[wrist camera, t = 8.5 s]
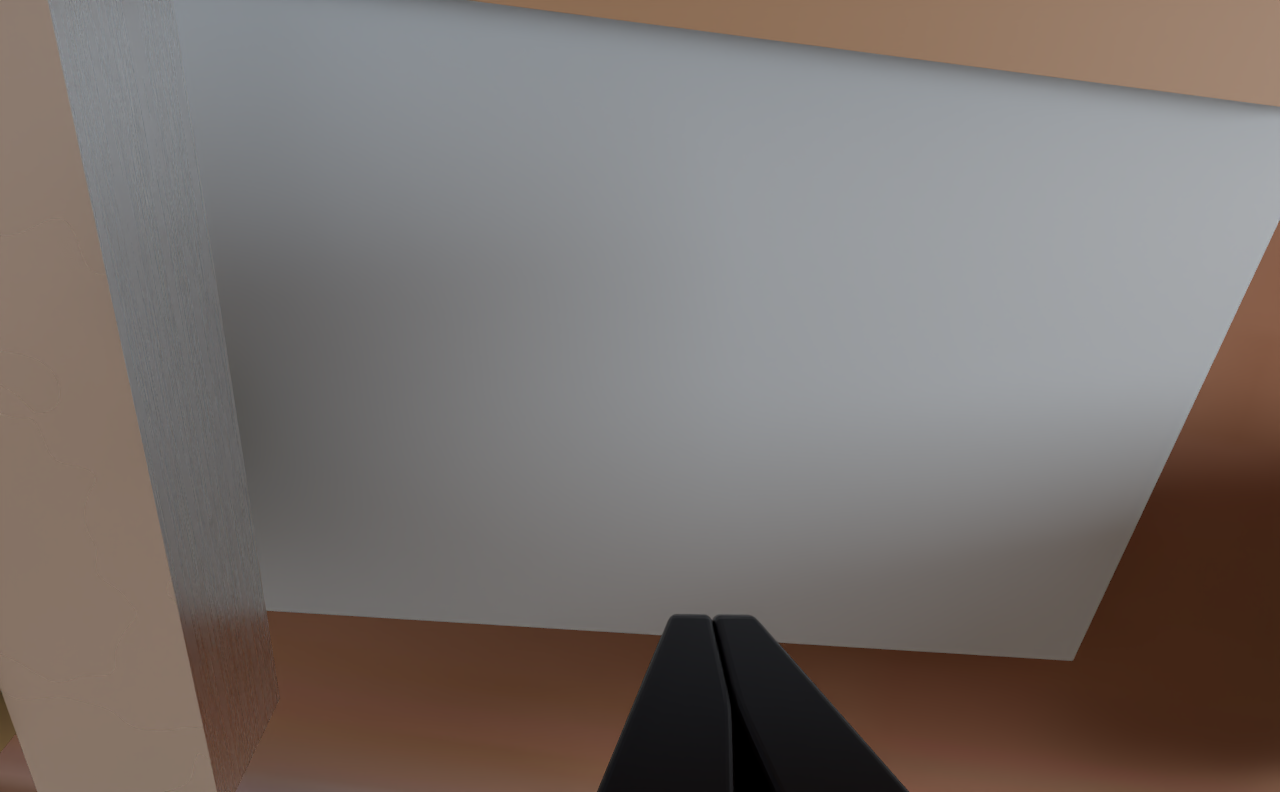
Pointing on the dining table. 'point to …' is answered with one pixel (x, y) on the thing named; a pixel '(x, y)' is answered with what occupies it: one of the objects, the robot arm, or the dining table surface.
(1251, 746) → the dining table surface
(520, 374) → the door board
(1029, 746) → the dining table surface
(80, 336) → the latch bar
